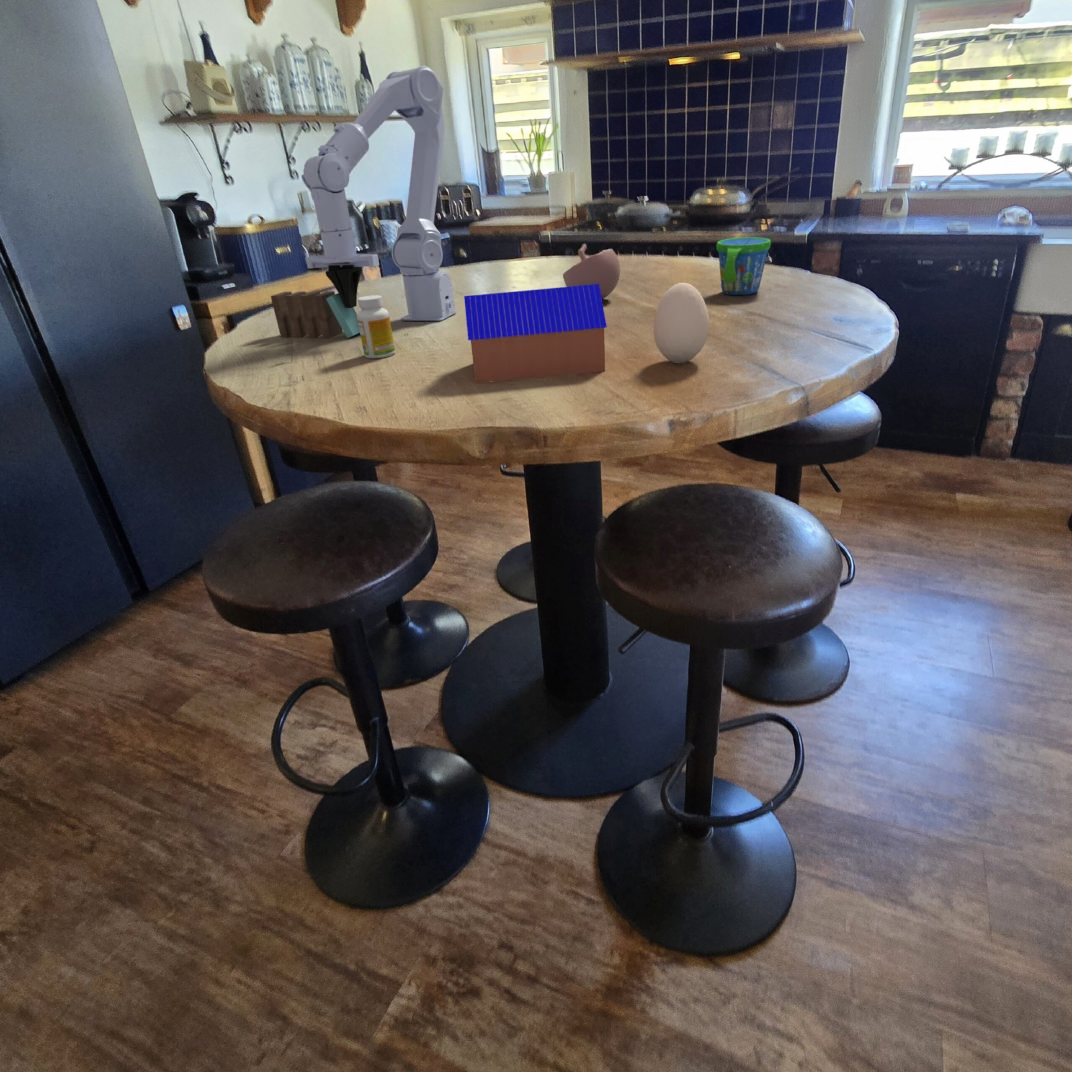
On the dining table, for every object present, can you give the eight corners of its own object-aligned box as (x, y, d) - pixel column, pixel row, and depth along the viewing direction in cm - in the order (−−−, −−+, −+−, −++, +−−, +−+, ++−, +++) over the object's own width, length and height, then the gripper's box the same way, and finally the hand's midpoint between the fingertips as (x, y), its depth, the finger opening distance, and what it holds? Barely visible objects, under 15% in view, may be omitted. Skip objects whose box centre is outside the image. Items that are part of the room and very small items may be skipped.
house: (607, 372, 102) (606, 290, 97) (473, 385, 101) (463, 303, 96) (594, 352, 113) (592, 277, 107) (473, 364, 112) (464, 289, 106)
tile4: (314, 332, 141) (305, 291, 137) (301, 337, 137) (291, 295, 133) (308, 332, 141) (298, 291, 137) (294, 337, 137) (284, 295, 134)
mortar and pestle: (583, 294, 156) (581, 239, 150) (630, 297, 149) (630, 240, 144) (553, 305, 147) (550, 247, 142) (601, 308, 141) (600, 248, 135)
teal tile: (347, 338, 134) (325, 298, 131) (359, 332, 137) (338, 294, 134) (353, 335, 133) (331, 295, 130) (365, 329, 136) (344, 290, 134)
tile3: (328, 332, 139) (319, 291, 136) (315, 337, 136) (306, 295, 132) (322, 332, 140) (313, 291, 136) (309, 337, 136) (299, 295, 132)
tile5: (300, 332, 142) (291, 291, 138) (287, 337, 138) (277, 296, 134) (294, 332, 142) (284, 291, 138) (280, 337, 139) (270, 296, 135)
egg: (650, 356, 107) (651, 280, 102) (701, 353, 107) (705, 276, 101) (656, 371, 100) (657, 289, 95) (711, 368, 100) (716, 285, 94)
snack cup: (748, 301, 137) (752, 246, 132) (699, 298, 143) (702, 245, 138) (778, 287, 147) (783, 235, 142) (732, 284, 153) (735, 235, 148)
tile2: (342, 332, 138) (334, 291, 134) (330, 338, 135) (321, 295, 131) (336, 332, 139) (327, 291, 135) (323, 338, 135) (314, 295, 131)
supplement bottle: (401, 351, 122) (391, 294, 117) (385, 359, 117) (375, 300, 113) (374, 350, 123) (364, 294, 119) (358, 358, 119) (347, 300, 114)
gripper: (289, 234, 125) (307, 311, 131) (358, 231, 120) (372, 311, 127) (312, 229, 130) (328, 303, 137) (379, 226, 126) (391, 303, 133)
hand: (350, 307), depth 132 cm, fingers closed
